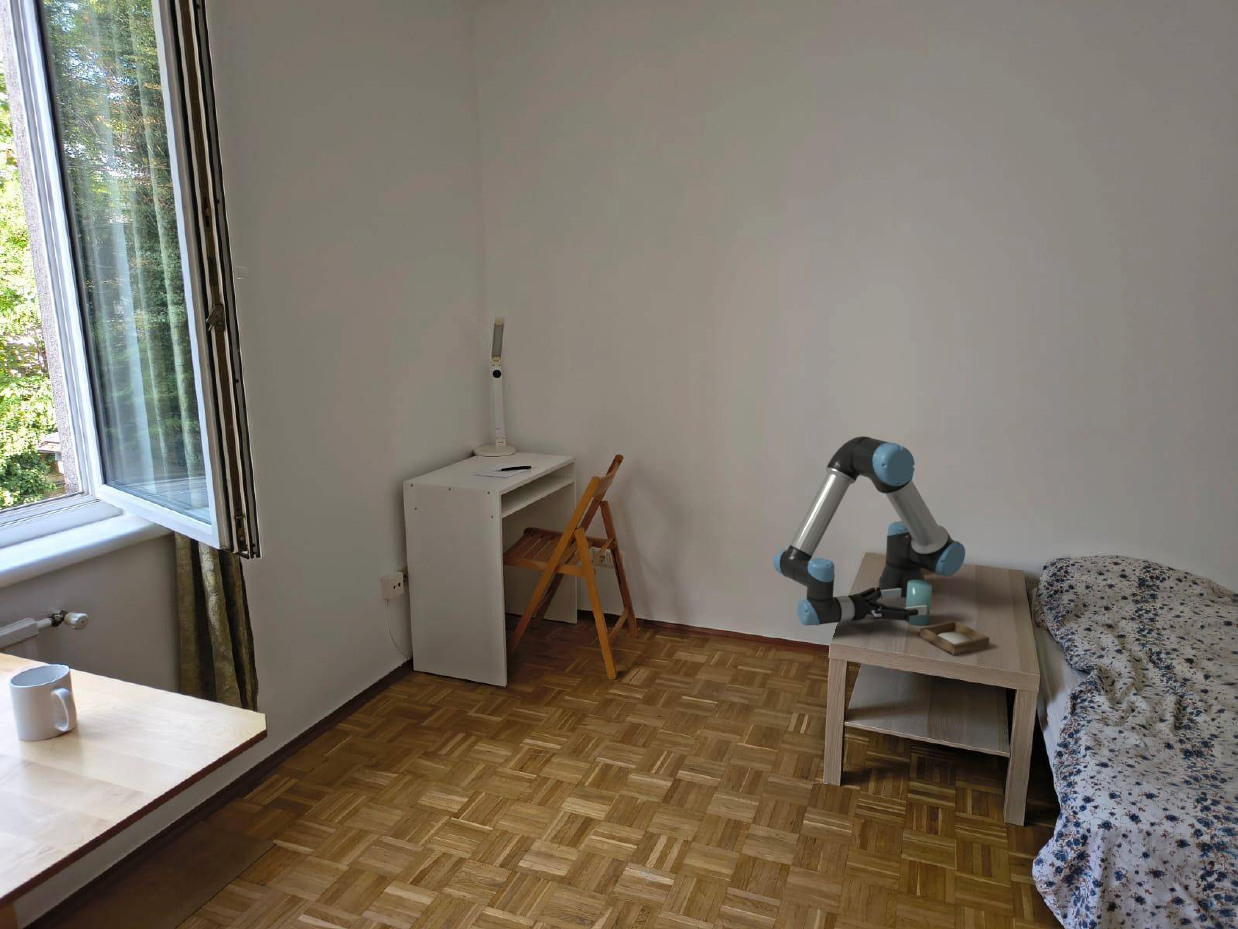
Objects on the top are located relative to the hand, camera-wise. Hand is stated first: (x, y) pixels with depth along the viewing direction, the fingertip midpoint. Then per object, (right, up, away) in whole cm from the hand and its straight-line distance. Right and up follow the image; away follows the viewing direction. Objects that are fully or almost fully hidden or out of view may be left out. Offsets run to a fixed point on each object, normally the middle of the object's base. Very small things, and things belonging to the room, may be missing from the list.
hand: (913, 601), depth 256 cm
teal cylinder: (+2, -6, +2) cm, 7 cm away
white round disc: (+7, -10, -12) cm, 18 cm away
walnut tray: (+7, -10, -12) cm, 18 cm away
